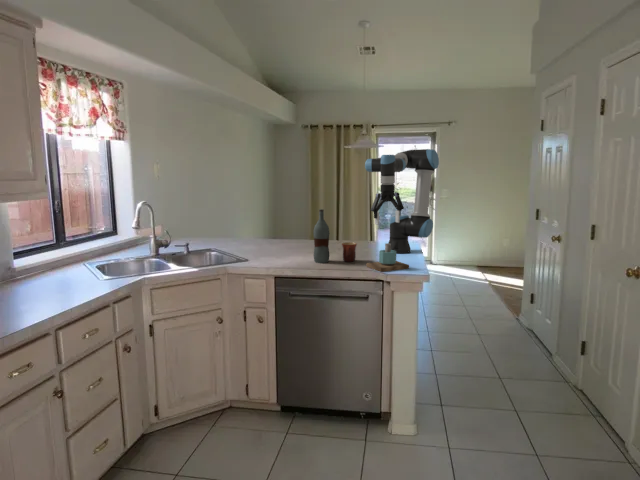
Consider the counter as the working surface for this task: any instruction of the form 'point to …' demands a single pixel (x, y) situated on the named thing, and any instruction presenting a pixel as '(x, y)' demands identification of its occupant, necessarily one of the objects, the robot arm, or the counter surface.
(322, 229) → the bottle
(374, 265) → the post block
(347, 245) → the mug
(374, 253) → the counter surface
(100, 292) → the counter surface
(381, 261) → the ring
